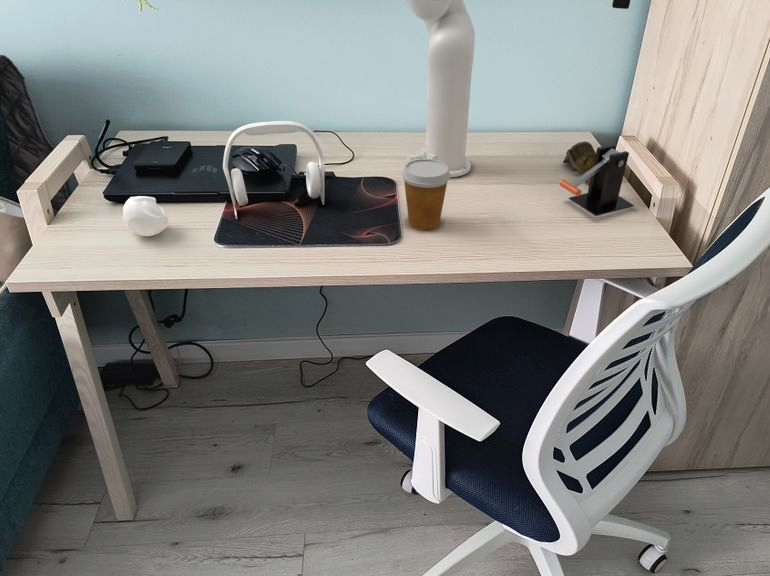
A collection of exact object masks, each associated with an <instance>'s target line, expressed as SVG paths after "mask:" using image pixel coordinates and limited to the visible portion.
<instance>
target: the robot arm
mask: <svg viewBox="0 0 770 576" xmlns="http://www.w3.org/2000/svg"><path fill="white" fill-rule="evenodd" d="M407 3H408V5H409V8H410V10H411V12H412V13H414V15H415V16H416V17H417V18H419V19H421V20H422V21H423V22H424V24H425V26H426V28H427V31H428V33H429V35H430V38H429V42H428V47H427V48H428V49H427V89H426V90H427V91H426V92H427V93H426V122H425V123H426V124H425V146H423V147H422V146H421V148H420V151H419V152H418V153H416V154H409V155H407V156H406V158H405V159H406V163H407V162H409V161H411V160H415V159H434V160H438V161H441V162H443V163H444V164H446V165H447V166H448V170H449V172H450V178H457V177H461V176H464V175H466V174H468V173H469V172H470V171H471V169H472V162H471V160H470V159H469V158H468V157H466V150H467V139H468V138H467V137H468V128H469V127H468V126H469V115H470V113H469V112H470V111H469V110H470V99H471V86H472V73H473V64H474V53H475V41H476V39H475V38H476V35H475V33H476V32H475V28H474V25H473V22H472V20H471V17H470V14H469V12H468V9H467V6H466V5H465V3H464V0H407ZM630 5H631V0H612V4H611V6H612V8H613V9H622V10H623V9H624V10H628V9H629V7H630Z"/></svg>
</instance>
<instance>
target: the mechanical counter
mask: <svg viewBox="0 0 770 576" xmlns="http://www.w3.org/2000/svg"><path fill="white" fill-rule="evenodd" d="M565 155H566V156H565V157H564V159H563V161H562V164H565V165H570V167H571V169H572V171H573V172H574V173H578V174H579V175H580V176H582V175H583V174H584V173H586V171H589V170H590V169H591V168H593V165H594V161H595V156H596V151H595V148H594V147H593V144H592V143H590V142H588V141H579V142H577V143H575V144H574V145H572V146H571V147H569V148H568V149H567V150H566V152H565ZM590 179H591V178H589V179H588V180H586V181H585V182H584V183H585V184H586V185H588V186H589V184H590Z"/></svg>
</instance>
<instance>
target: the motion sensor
mask: <svg viewBox="0 0 770 576" xmlns="http://www.w3.org/2000/svg"><path fill="white" fill-rule="evenodd" d="M122 218H123V221H124V223H125V225H126V226H127V227H128V229H129V230H130V231H131V232H133V233H134V234H135V235H138V236H142V237H152V236H156V235H158V234H160V233H162V232H163V231H164V230H165V229H166V228H167V227H168V222H169V216H168V215H167V213H166V211H165V209H164V208H163V207H162V206H161V205H159V204H158V202H157V199H156V198H155V197H153V196H147V195H146V196H145V195H143V196H142V195H137V196H130V197H129V198H128V199H127V200H126V201H125V203H124V205H123V207H122Z"/></svg>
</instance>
